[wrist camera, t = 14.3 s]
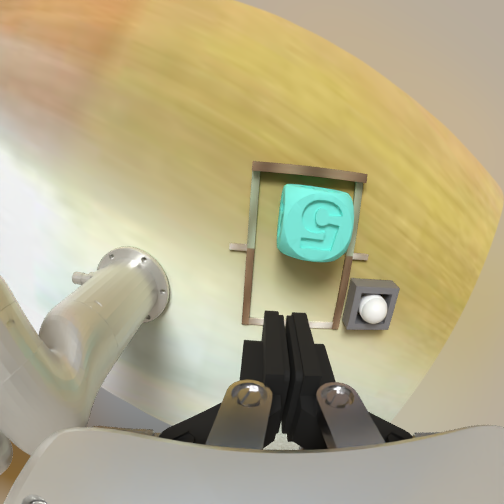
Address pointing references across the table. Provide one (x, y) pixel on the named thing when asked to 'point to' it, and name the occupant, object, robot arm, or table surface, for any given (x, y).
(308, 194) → the decorative dice
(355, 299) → the collar
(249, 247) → the lane
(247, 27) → the table surface
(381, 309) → the white ball
